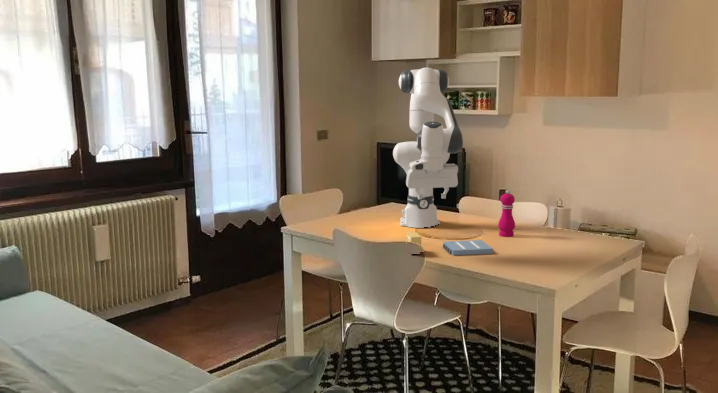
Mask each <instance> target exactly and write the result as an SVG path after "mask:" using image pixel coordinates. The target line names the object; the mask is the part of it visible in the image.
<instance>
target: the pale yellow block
mask: <svg viewBox="0 0 718 393" xmlns="http://www.w3.org/2000/svg"><path fill="white" fill-rule="evenodd" d="M407 241H408V242H414V243H418V244H420V245H421V246H422V236H421V234H419V233H418V232H417V231H416V232H415V231H413V232H412V231H411V232H410V231H409V232H406V242H407Z"/></svg>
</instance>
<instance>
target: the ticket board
mask: <svg viewBox="0 0 718 393" xmlns="http://www.w3.org/2000/svg"><path fill="white" fill-rule="evenodd" d="M442 243H443V244H442V249H444V250H445V251H446V253H448V255H452V256H453V255H454V256H470V255H471V256H472V255H493V253H494V248H493V247H491V246H490V245H489V244H487V242H485V241H483V240H482V239H479V240H478V239H476V240H475V239H473V240H456V241H455V240H454V241H443V242H442Z"/></svg>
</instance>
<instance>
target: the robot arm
mask: <svg viewBox="0 0 718 393" xmlns="http://www.w3.org/2000/svg"><path fill="white" fill-rule="evenodd" d="M447 72H448V71H446V70H444V69H435V68H434V69H433V68H432V67H422V68H420V69H419V68H418V69H406V70H402V72H401V73H400V76H399V78H398V86H399V89H400V91H401V92H402V93H404V94H408V95H410V94H411V95H410V100H409V117H408V118H409V119H408V120H409V123H408V124H409V128H410V130H411V131H413V132H414V133H415V134H416V141H415V140H413V141H412V140H410V141H403V142H398V143H397V144H396V145H395V146H394V148H393V150H392V156H393V159H394V162H395V163H396V164H398V165H399V166H400V167H401V168H402V170H403V171H404V172H405V174H406V179H405V185H406V187H407V188H408V194H407V201H406V202H407V204H406V206H405V208H404V209H401V215H402V216H401V217H400V218H399V221H400V222H399V223H400V226H401V227H409V228H415V229H425V228H424V227H428V228H432V227H431V226H434V227H436V226H439V225H441V221H439V220H438V211H437V210H438V209H437V206H436V205H435V204H434V200H435V196H434V189H436V188H438V189H439V188H443V189H444V191H443V193H440V195H441V197H440V198H441V199H443V200H444V199H446V198H447V194H448V192H449V190H450V188H456V187H457V186H458V184H459V181H458V180H459V179H458V173H459V166H458V165H457V164H455V163H447V162H448V161H449V159H450V157H451V156H450V155H451V154H457V153H458V152H460V150H462V149H463V145H464V137H463V134H462V131H461V129H460V127H459V124H458V122H457V118H456V115H455V112H454V109H453V105H452V103H451V101H450V100H449V99H448V98H447V97H446V96H444V95H443V94H444V93H445V92H446V91H447V90H448V87H449V85H450V84H449V83H450V78H449V75H448V73H447ZM435 114H436V115H438V116H440V117H441V118H443V120H444V122H445V126H446V128H444V126H443V124H442V123H441V122H439V121H435V116H434V115H435ZM438 224H439V225H438ZM435 225H436V226H435Z"/></svg>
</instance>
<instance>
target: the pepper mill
mask: <svg viewBox="0 0 718 393" xmlns="http://www.w3.org/2000/svg"><path fill="white" fill-rule="evenodd" d="M515 199H516V198H515V196H514V194H512V193H511V190H509V189H506V190H505V193H504V194H502V195H501V196H500V199H499V200H500V203H501V207H500V208H501V209H502V212H501V215H500V218H499V220H498V224H497V227H498V228H499V232H498V236H500V237H503V238H511V237H512V238H513V237H514V235H515V233H514V232H515V231H514V230H515V228H516V223H515V218H514V216H513V209H514V205H513V204H514V203H515Z"/></svg>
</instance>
